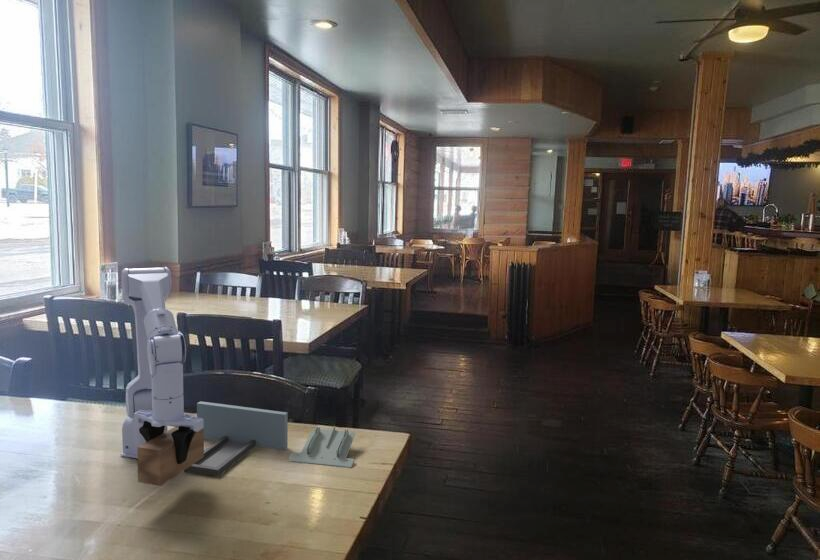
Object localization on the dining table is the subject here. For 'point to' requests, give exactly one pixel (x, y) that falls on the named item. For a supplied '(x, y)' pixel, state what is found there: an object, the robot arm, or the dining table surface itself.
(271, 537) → the dining table surface
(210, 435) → the wall board
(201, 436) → the brown wooden block
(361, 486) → the dining table surface
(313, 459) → the metal bracket
